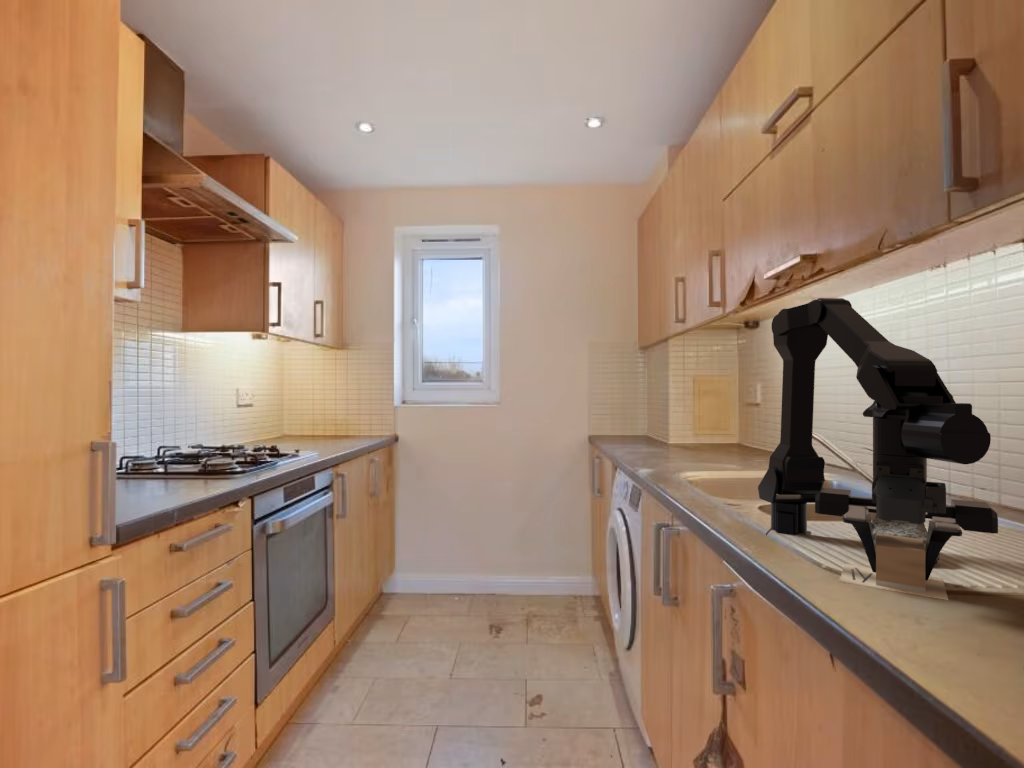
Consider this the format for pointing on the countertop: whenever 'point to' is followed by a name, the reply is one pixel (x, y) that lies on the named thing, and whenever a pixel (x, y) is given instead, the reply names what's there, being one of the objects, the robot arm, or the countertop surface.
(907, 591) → the birch board
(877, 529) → the rock
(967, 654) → the countertop surface
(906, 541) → the block
